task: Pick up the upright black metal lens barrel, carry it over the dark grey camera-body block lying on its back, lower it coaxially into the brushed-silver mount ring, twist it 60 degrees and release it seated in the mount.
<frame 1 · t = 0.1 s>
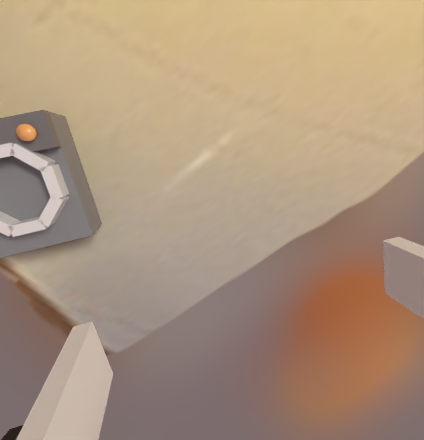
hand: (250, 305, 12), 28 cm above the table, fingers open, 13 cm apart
camera body: (40, 183, 35), on the table
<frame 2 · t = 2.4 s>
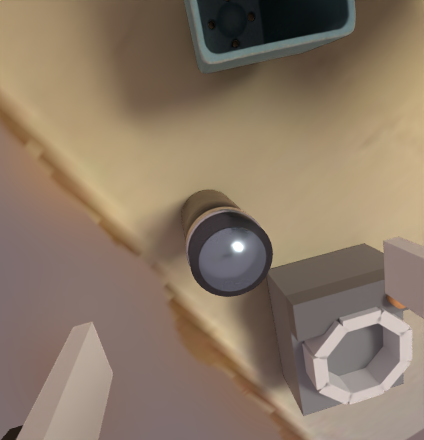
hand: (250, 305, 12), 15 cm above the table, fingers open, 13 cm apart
lens: (208, 216, 26), on the table
camera body: (321, 313, 31), on the table
flower pot: (229, 24, 22), on the table
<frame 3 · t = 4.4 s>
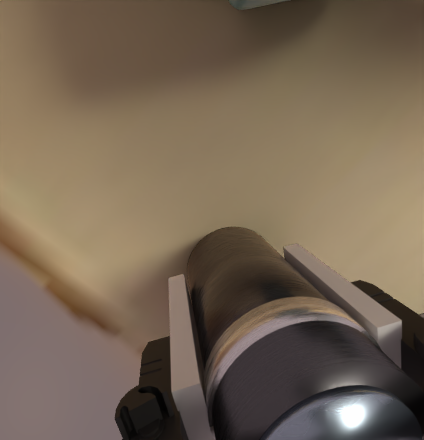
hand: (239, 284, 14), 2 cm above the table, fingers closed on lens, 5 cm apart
lens: (231, 269, 16), on the table, touching gripper
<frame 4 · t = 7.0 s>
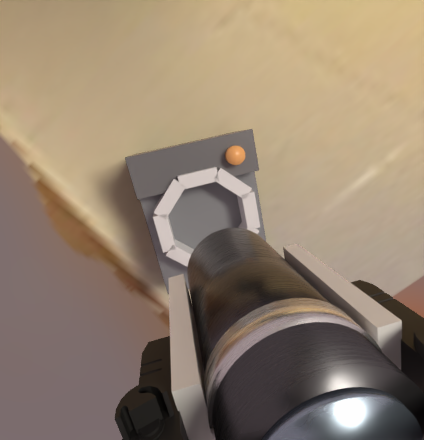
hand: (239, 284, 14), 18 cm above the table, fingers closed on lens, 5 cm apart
lens: (231, 270, 16), point 17 cm above the table, touching gripper
camera body: (199, 205, 32), on the table
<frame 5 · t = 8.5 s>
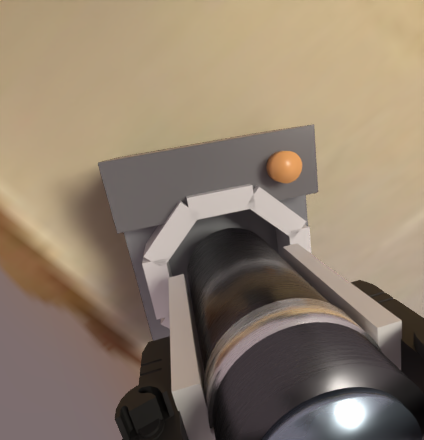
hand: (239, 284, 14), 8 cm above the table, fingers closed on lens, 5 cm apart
lens: (231, 270, 16), point 7 cm above the table, touching gripper
camera body: (212, 234, 22), on the table
when the fingers open (8 cm above the table, at t = 9.7 s): lens drops 1 cm, resting on camera body.
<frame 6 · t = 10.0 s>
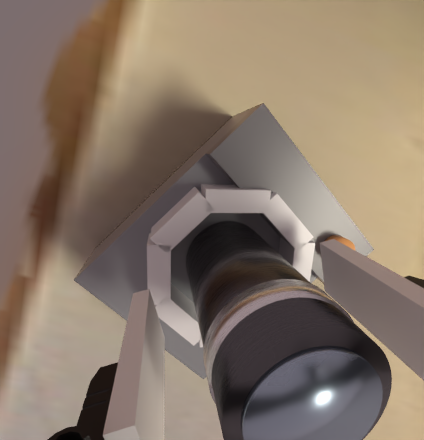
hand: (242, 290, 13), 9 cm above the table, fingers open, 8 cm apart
lens: (226, 260, 17), point 5 cm above the table, touching camera body
camera body: (212, 234, 22), on the table
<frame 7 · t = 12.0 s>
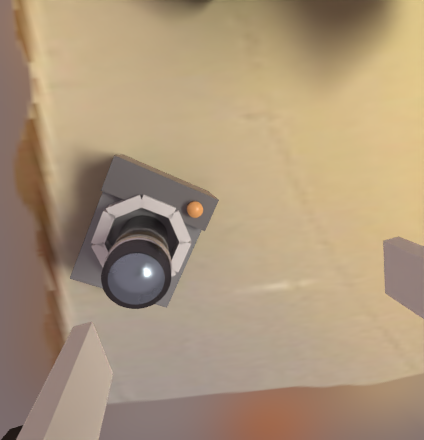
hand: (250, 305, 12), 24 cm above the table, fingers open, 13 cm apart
lens: (144, 237, 30), point 5 cm above the table, touching camera body
camera body: (145, 225, 35), on the table
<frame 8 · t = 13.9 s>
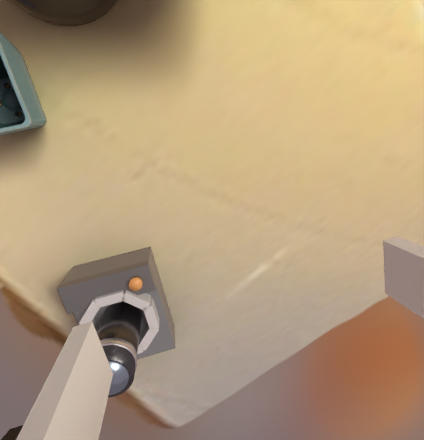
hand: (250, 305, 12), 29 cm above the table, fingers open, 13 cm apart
lens: (122, 317, 37), point 5 cm above the table, touching camera body
camera body: (127, 298, 42), on the table
flower pot: (15, 101, 33), on the table
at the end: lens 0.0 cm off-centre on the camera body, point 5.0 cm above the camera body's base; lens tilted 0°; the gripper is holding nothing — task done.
